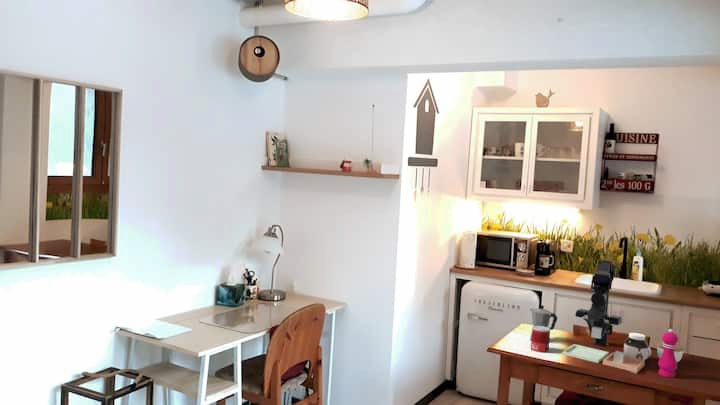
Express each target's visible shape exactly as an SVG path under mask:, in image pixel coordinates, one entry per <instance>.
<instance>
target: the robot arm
mask: <svg viewBox="0 0 720 405" xmlns="http://www.w3.org/2000/svg"><path fill="white" fill-rule="evenodd" d="M616 275H617V266H616V265H615V264H613V261H611V260H604V259H601V260H600V262H599V263H597V265H596V271H595V272H594V274H593V275H592V278H591V282H590V283H591V285H590V289H591V290H593V293H592V294H591V297H590V301H591V307H590V309H582V308H580V309H577V310H576V311H575V317H576V318H580V319H581V318H583V319H582V320H583V321H585V322H586V323H587V327H588V329H589V334H590V335H591V333H592V327H593V326H594V327H599V328H602V333H601V339H599V338H594V341H593V342H592V345H595V346H601V347H604V348H605V347H607V346H609V345H610V343H608V337H609V336H611V335H613V328H614V326H619V325H620V324H622V323H623V322H622V321H623V319H622V317H621V316H618V315H613V314H612V315H611V316H610V315H609V313H608V310H609V298H610V290H612V286H613V281H614V278H615V277H616Z"/></svg>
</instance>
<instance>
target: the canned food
mask: <svg viewBox="0 0 720 405" xmlns="http://www.w3.org/2000/svg"><path fill="white" fill-rule="evenodd" d="M531 333H532V338H531V340H530V350H531V351H532V352H537V353H548V352H549V347H550V337H551V330H550V329H549V327H548V328H547V327H544V326H534V325H533V326H532V329H531Z"/></svg>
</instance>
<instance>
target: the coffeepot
mask: <svg viewBox="0 0 720 405" xmlns="http://www.w3.org/2000/svg"><path fill="white" fill-rule="evenodd" d="M544 307H545V306H544V305H540V308H531V309H530V311H531V313H532V314H531V318H532V324H533V326H544V327H547V328H549V329H550V331H551V330H552V331H553V330H554V328H555V325H556V323H557V321H558V317H557V314H556V313H554V312H552V311H549V310H547V309H544ZM551 318H553V319H552V323H551V325H550V320H551ZM549 325H550V326H551V327H549ZM531 338H532V332H531V333H530V337H529V341H531Z"/></svg>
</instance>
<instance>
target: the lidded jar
mask: <svg viewBox="0 0 720 405" xmlns="http://www.w3.org/2000/svg"><path fill="white" fill-rule="evenodd" d="M663 343H664V341H659V342H657V345H656V346H657V350H656V351H657V356H658V358H659V359H660V357H661V356H662V354H663V350H664V347H663ZM675 345H676V348H675V350H674V355H675V359H676V362H677V363H678V362H680V361H681V359H682V357H683V353H684V350H685V349H684V346H682V345H681V344H678V343H676V344H675Z"/></svg>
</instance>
